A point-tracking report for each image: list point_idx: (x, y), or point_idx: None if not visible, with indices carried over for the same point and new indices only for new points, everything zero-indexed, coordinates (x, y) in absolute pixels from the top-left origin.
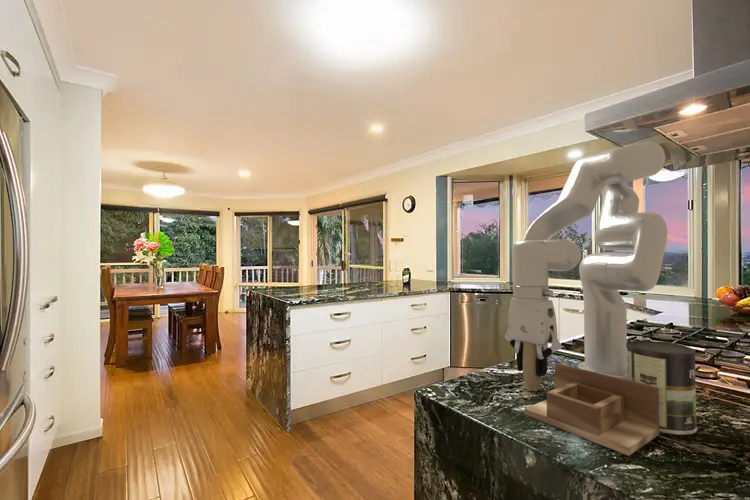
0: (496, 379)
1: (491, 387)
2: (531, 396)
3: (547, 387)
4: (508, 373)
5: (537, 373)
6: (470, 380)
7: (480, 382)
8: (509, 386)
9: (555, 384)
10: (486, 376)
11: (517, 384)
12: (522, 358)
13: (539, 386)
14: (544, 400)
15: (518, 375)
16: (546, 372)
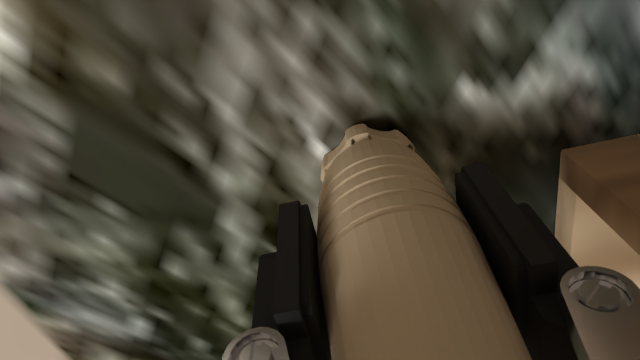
0: (133, 227)
1: (248, 313)
2: None
3: (382, 29)
4: (9, 72)
5: None
6: (121, 343)
7: (163, 320)
8: (268, 234)
9: (625, 238)
10: (64, 246)
11: (254, 174)
12: (326, 334)
13: (412, 149)
14: None
15: (72, 30)
16: (485, 165)
